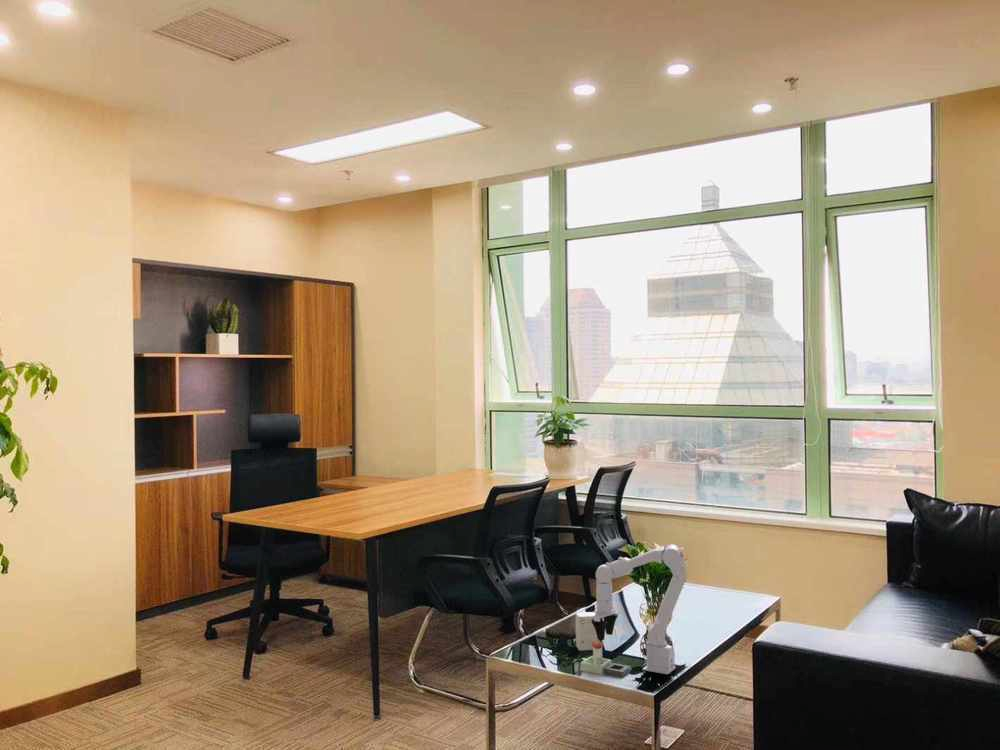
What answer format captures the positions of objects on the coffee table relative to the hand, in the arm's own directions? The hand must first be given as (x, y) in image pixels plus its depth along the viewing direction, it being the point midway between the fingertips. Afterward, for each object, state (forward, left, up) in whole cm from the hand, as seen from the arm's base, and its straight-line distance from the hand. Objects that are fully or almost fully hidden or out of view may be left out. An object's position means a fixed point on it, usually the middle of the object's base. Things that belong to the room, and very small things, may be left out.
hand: (605, 637), depth 295 cm
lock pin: (+1, +5, -10) cm, 11 cm away
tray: (+1, +5, -10) cm, 12 cm away
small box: (+15, -16, -11) cm, 24 cm away
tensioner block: (-7, +5, -10) cm, 13 cm away
